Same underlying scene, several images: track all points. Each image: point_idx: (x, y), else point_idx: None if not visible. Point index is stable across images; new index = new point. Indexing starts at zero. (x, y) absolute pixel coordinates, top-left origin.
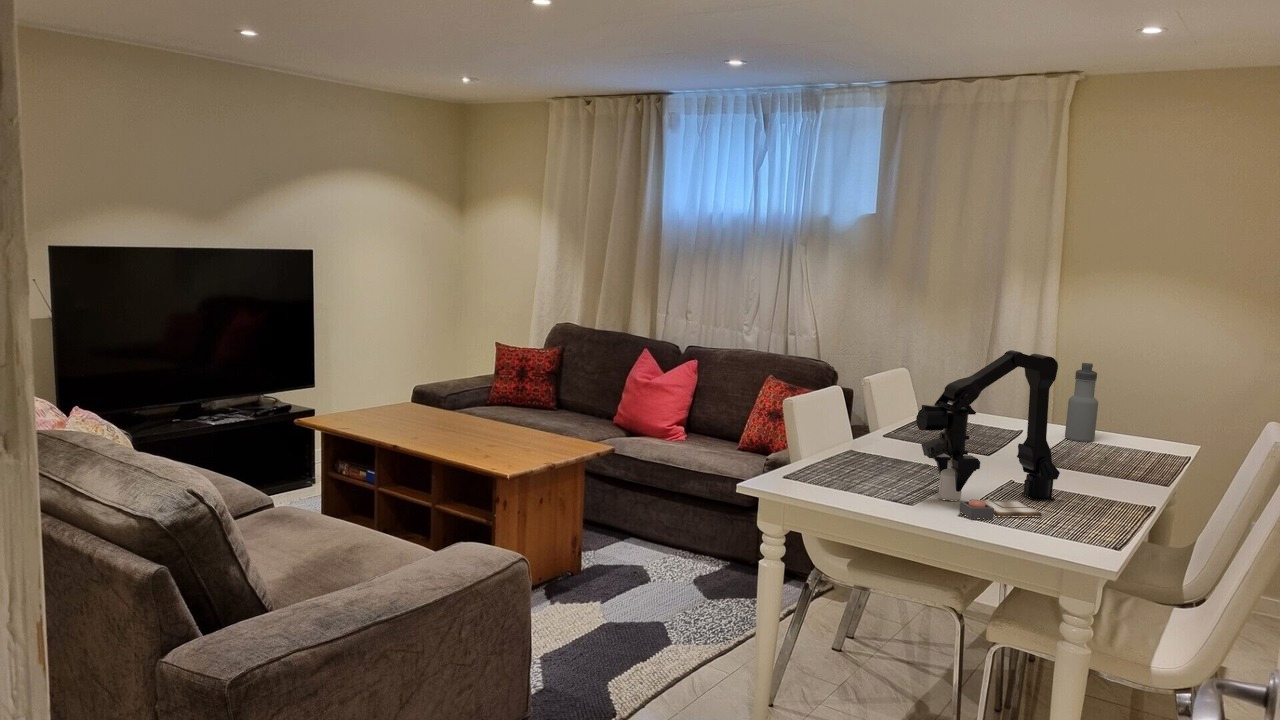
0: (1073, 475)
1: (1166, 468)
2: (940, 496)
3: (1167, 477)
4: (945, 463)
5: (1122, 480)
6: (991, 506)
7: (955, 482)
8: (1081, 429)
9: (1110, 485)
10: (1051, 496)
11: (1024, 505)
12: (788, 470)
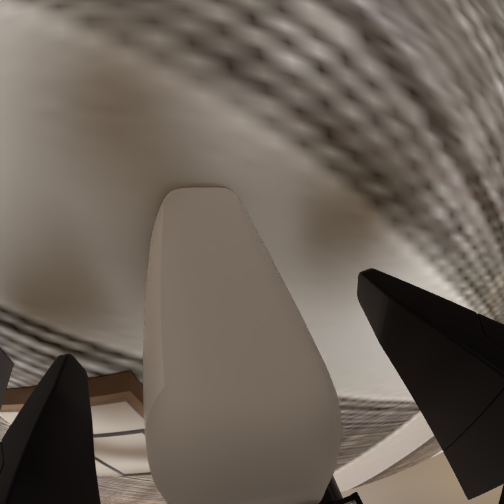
0: (417, 442)
1: (406, 467)
2: (166, 200)
3: (380, 478)
4: (478, 430)
5: (381, 470)
6: None
7: (38, 415)
8: None
9: (364, 473)
10: None
11: (142, 471)
12: None
